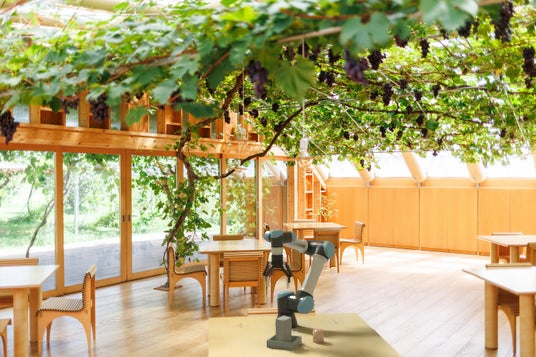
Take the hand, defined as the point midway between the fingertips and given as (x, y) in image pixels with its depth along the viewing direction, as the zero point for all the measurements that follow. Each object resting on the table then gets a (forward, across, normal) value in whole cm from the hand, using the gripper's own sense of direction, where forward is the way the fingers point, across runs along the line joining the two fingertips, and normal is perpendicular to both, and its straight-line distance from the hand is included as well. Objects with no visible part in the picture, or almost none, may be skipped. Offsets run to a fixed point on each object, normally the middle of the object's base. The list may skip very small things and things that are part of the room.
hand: (278, 287), depth 321 cm
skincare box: (+30, -10, +16) cm, 36 cm away
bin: (+31, -10, +16) cm, 36 cm away
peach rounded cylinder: (+31, -27, +3) cm, 41 cm away
